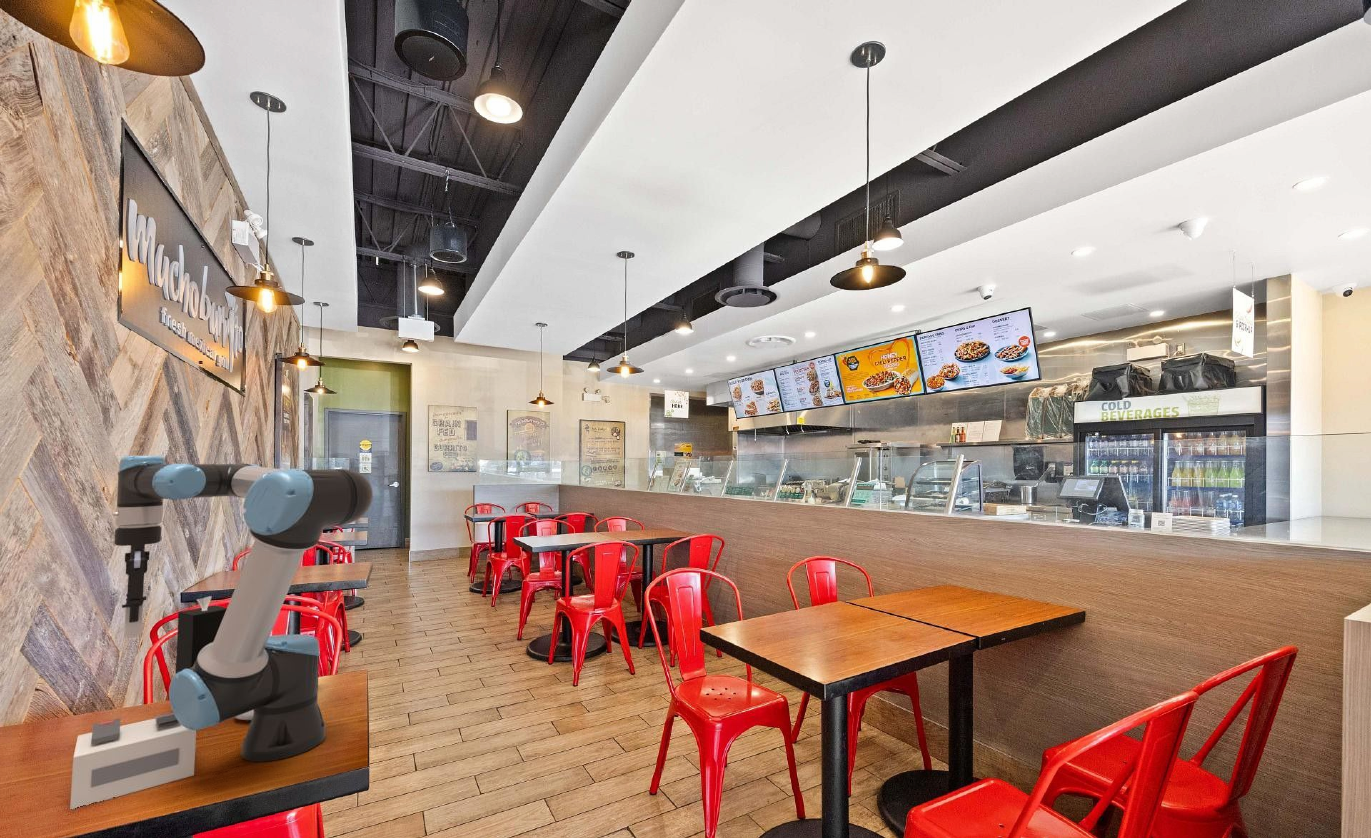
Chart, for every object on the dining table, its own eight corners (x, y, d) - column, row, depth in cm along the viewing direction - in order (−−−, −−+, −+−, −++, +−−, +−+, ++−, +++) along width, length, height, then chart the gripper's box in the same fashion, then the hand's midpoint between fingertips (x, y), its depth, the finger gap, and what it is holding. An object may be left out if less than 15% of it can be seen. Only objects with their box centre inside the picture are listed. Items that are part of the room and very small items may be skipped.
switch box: (74, 784, 114) (78, 733, 115) (189, 754, 126) (191, 708, 126) (69, 810, 105) (73, 755, 106) (193, 775, 117) (196, 726, 117)
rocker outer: (93, 729, 114) (93, 723, 114) (120, 722, 117) (120, 717, 117) (91, 744, 110) (91, 739, 110) (119, 738, 113) (119, 732, 112)
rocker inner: (155, 721, 120) (155, 715, 120) (180, 715, 123) (180, 710, 123) (156, 723, 116) (156, 717, 116) (181, 718, 119) (182, 712, 119)
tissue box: (172, 714, 146) (178, 598, 148) (210, 702, 153) (215, 592, 155) (188, 720, 143) (194, 601, 145) (225, 708, 150) (231, 595, 152)
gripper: (116, 524, 134) (109, 630, 132) (114, 530, 121) (107, 647, 120) (160, 522, 139) (154, 624, 137) (163, 527, 127) (156, 639, 125)
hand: (132, 634), depth 128 cm, fingers open, 4 cm apart
